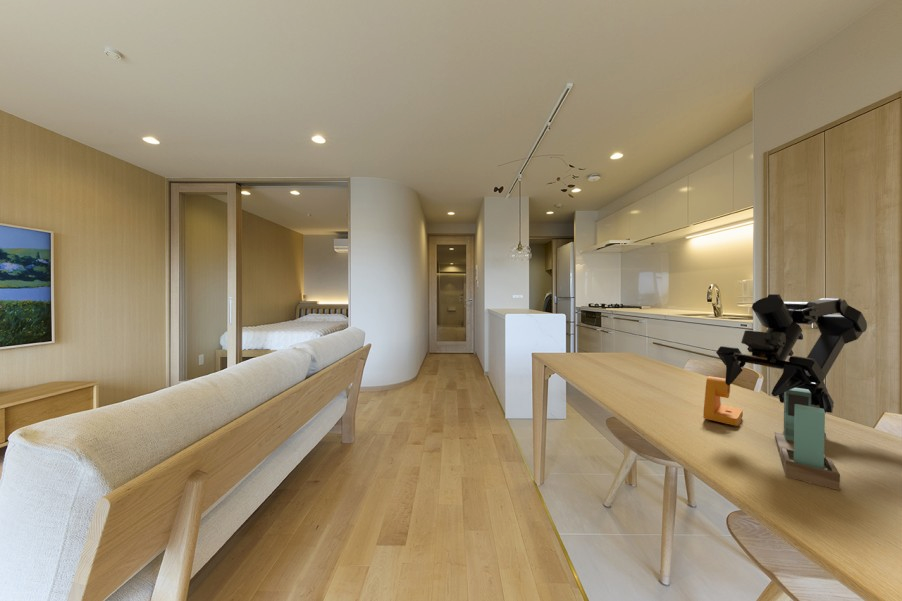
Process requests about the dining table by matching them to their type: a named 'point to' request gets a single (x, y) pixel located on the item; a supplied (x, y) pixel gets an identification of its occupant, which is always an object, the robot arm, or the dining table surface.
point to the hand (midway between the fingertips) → (748, 389)
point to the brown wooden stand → (786, 446)
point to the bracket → (713, 404)
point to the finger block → (809, 436)
